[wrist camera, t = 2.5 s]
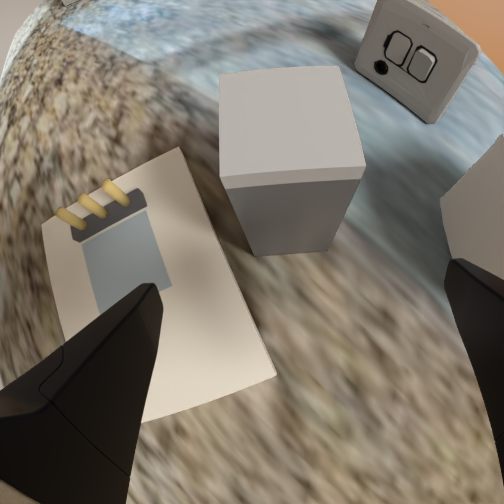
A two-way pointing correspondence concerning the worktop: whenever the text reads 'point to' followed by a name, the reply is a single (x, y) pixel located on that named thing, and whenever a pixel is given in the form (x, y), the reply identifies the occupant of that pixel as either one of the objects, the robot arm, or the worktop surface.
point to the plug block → (288, 155)
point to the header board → (158, 281)
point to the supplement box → (68, 2)
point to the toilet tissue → (478, 212)
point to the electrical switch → (416, 56)
